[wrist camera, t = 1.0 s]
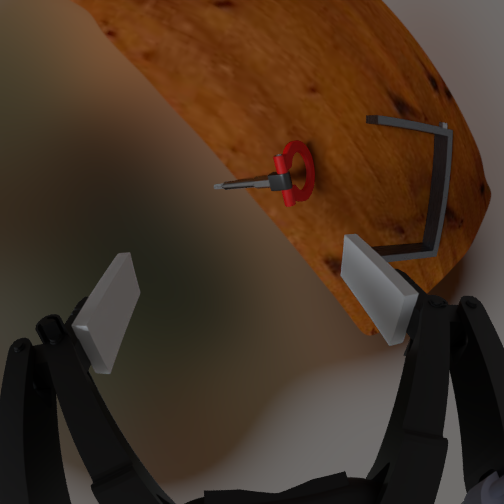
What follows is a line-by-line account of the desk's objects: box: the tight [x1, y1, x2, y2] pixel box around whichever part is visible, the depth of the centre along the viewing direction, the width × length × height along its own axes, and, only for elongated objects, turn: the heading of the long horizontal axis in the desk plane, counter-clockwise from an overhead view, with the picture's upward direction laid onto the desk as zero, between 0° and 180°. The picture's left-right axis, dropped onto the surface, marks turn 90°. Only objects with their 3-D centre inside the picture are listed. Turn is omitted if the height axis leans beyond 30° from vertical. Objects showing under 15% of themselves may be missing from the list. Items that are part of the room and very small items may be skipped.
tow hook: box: [214, 140, 315, 207], centre depth 32 cm, size 7×10×7 cm
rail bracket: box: [366, 115, 453, 262], centre depth 33 cm, size 21×14×3 cm, turn 2°
